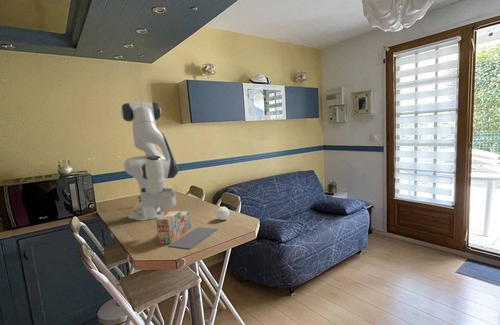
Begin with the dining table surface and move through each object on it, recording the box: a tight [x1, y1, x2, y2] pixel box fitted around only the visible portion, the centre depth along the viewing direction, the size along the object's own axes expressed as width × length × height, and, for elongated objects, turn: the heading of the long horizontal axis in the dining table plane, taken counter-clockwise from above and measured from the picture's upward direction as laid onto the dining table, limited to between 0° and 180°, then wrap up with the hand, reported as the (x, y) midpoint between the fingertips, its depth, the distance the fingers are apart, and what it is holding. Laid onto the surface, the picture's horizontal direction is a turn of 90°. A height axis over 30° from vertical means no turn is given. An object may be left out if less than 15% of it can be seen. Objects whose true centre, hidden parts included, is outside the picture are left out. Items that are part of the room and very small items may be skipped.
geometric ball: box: [215, 206, 230, 221], centre depth 154 cm, size 8×8×8 cm
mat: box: [167, 226, 218, 250], centre depth 130 cm, size 12×24×1 cm, turn 157°
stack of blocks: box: [155, 210, 191, 245], centre depth 135 cm, size 21×6×12 cm, turn 167°
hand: (160, 214), depth 137 cm, fingers closed
